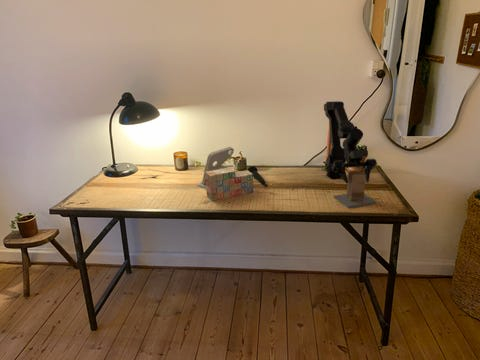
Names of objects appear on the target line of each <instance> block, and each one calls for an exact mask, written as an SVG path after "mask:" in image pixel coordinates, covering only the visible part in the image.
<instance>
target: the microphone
mask: <svg viewBox="0 0 480 360" xmlns="http://www.w3.org/2000/svg"><path fill="white" fill-rule="evenodd" d="M247 170H248V171H249V172H251V173H252V174H253V179H254V180H256V181H257V182H258V183H259V184H261V185H263V186H264V187H267V188H268V185H267V183H266V180H265V179H264V178H263V177H262V175H261V174H260V173H259V172H258V167H256V166H255V165H250V166H248V167H247Z"/></svg>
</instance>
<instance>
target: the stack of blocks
mask: <svg viewBox="0 0 480 360" xmlns="http://www.w3.org/2000/svg"><path fill="white" fill-rule="evenodd" d="M228 167H229V166H228ZM231 168H232V167H229V168H224V169H218V170H213V171H207V172H205V173H206V188H205V189H206V197H207V198H208V199H209V200H210V201H216V200H221V199H227V198H232V197H235V196H240V195H245V194H246V195H247V194H250V193H254V177H253V174H252V173H251V172H249V171H248V170H241V171H236V170H234V169H233V168H232V169H231Z"/></svg>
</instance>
